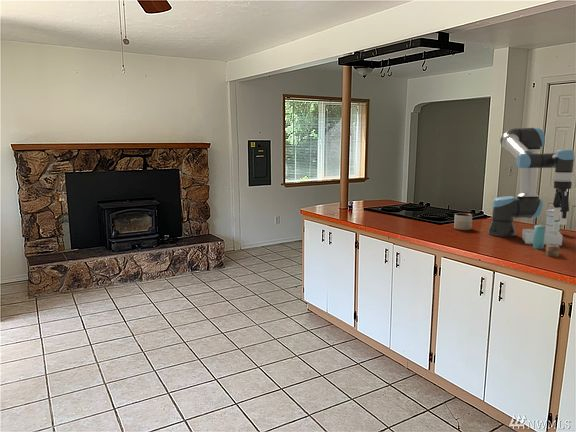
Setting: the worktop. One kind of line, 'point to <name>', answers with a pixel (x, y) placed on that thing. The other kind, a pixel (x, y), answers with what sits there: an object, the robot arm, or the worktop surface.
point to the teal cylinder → (538, 237)
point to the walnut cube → (552, 250)
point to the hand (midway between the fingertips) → (559, 222)
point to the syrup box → (552, 221)
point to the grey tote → (549, 238)
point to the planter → (463, 221)
